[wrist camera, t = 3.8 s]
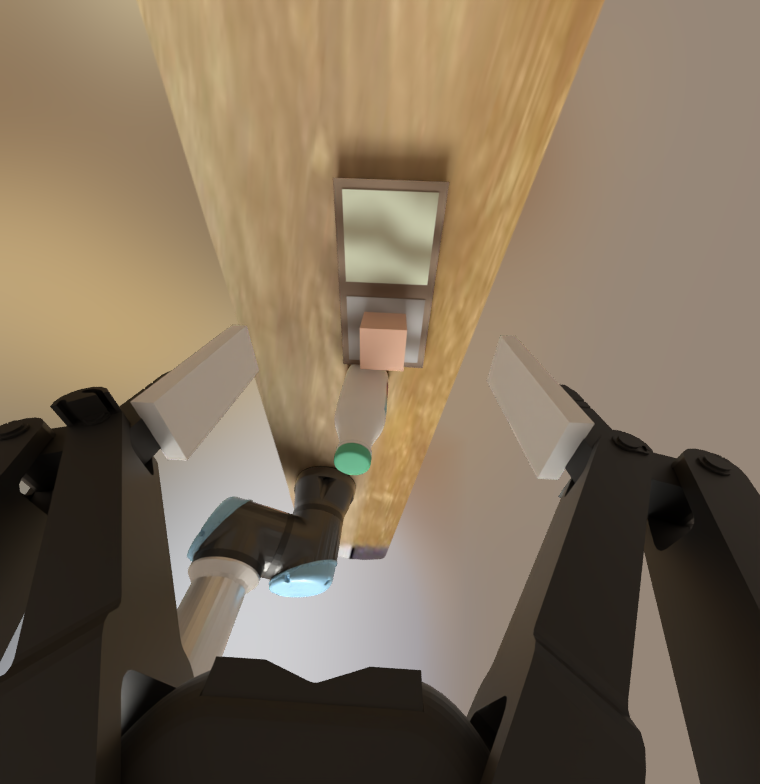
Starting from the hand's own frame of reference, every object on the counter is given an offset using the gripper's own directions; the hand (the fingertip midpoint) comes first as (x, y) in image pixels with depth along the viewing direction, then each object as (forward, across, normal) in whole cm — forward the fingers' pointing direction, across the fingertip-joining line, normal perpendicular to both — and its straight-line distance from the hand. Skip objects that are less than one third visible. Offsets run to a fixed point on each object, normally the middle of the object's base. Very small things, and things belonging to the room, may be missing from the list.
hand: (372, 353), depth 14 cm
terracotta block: (+25, 0, +9) cm, 27 cm away
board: (+28, 0, +3) cm, 29 cm away
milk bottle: (+29, +3, +20) cm, 35 cm away
